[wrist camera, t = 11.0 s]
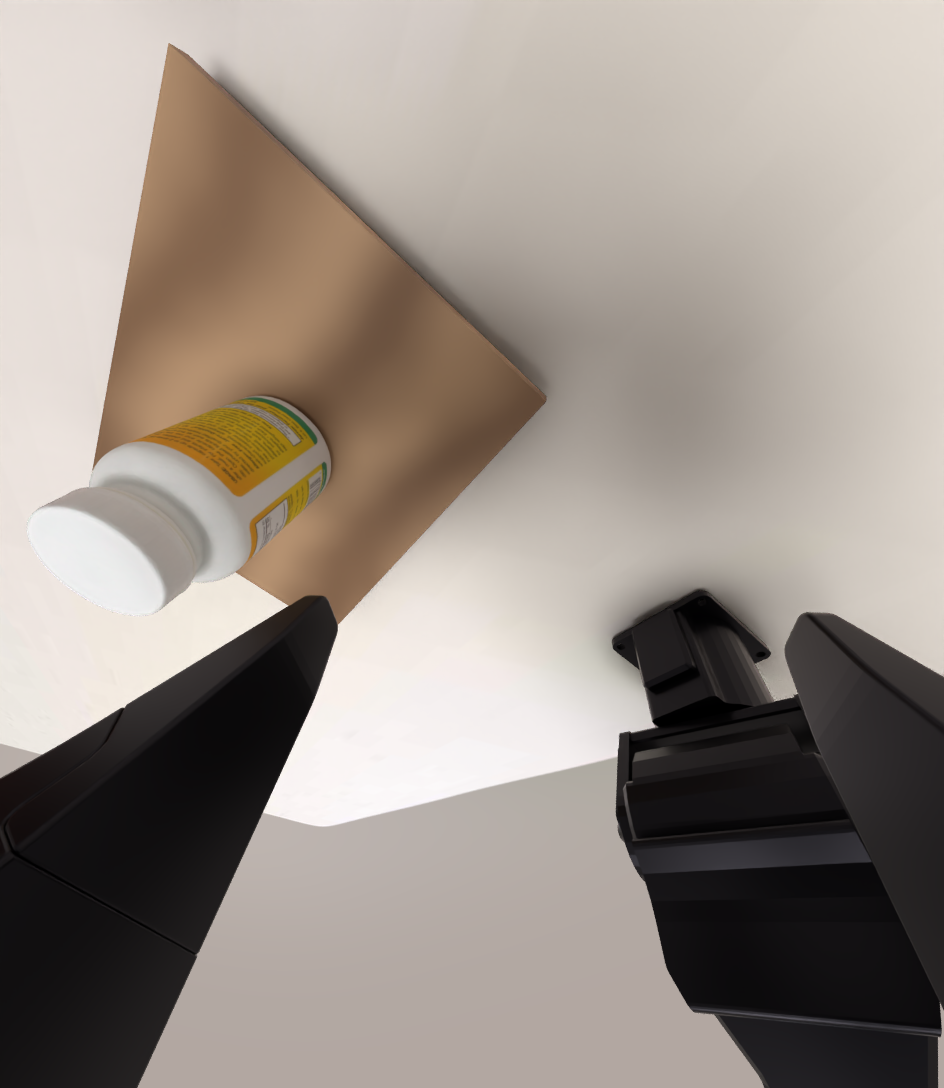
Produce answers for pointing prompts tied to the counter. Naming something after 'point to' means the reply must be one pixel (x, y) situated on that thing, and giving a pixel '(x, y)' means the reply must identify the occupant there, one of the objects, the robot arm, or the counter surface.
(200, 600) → the counter surface
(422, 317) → the peg shelf
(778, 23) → the counter surface
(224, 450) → the supplement bottle
